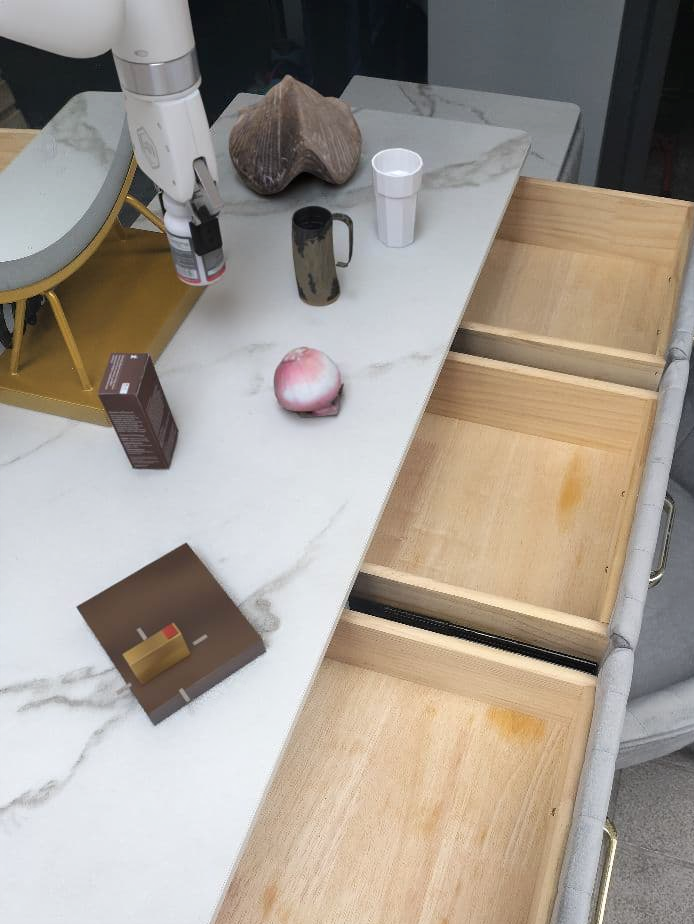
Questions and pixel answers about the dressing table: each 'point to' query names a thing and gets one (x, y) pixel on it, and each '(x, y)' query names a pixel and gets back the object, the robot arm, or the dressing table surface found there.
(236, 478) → the dressing table surface
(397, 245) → the cup
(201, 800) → the dressing table surface
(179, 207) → the pill bottle
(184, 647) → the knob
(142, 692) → the panel
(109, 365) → the box
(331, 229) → the mug
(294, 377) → the onion
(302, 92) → the seashell
